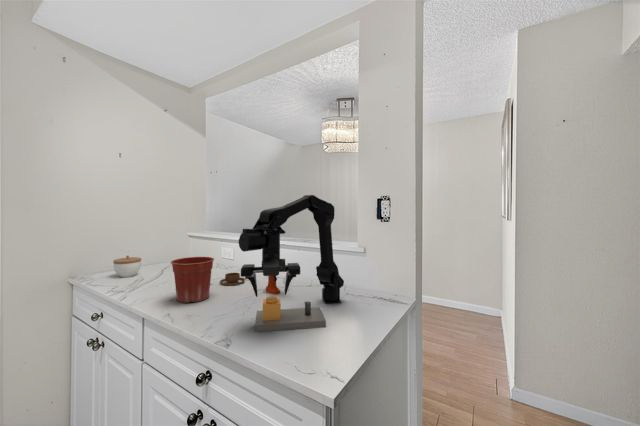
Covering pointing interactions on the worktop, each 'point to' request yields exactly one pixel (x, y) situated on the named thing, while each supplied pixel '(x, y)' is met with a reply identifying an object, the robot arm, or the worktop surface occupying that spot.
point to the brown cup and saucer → (232, 279)
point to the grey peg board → (292, 319)
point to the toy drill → (272, 285)
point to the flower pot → (192, 278)
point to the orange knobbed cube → (271, 308)
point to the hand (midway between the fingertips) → (271, 295)
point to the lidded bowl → (127, 266)
